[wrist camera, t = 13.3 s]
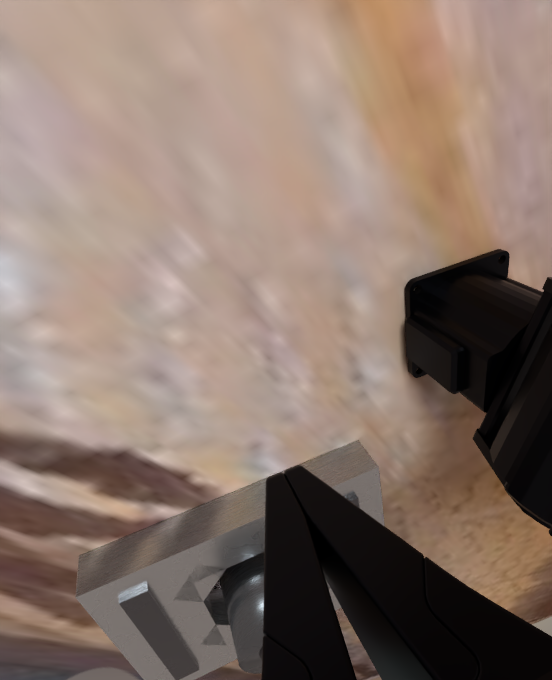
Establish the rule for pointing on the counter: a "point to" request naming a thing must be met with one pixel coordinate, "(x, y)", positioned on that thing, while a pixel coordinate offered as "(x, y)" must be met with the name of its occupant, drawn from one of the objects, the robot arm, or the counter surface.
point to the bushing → (246, 610)
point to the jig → (197, 572)
